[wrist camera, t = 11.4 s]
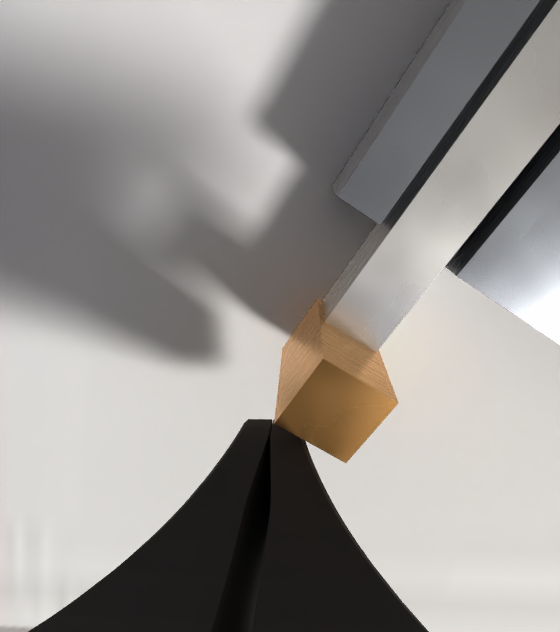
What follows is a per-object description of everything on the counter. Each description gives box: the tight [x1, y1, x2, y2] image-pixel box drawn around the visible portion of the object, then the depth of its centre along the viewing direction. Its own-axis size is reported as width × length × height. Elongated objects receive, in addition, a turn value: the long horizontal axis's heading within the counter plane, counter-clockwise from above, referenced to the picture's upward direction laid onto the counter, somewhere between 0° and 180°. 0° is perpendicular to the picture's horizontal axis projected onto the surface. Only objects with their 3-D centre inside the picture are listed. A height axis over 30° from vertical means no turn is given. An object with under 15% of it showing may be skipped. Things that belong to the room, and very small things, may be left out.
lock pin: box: [274, 0, 560, 463], centre depth 8 cm, size 2×14×4 cm, turn 148°
